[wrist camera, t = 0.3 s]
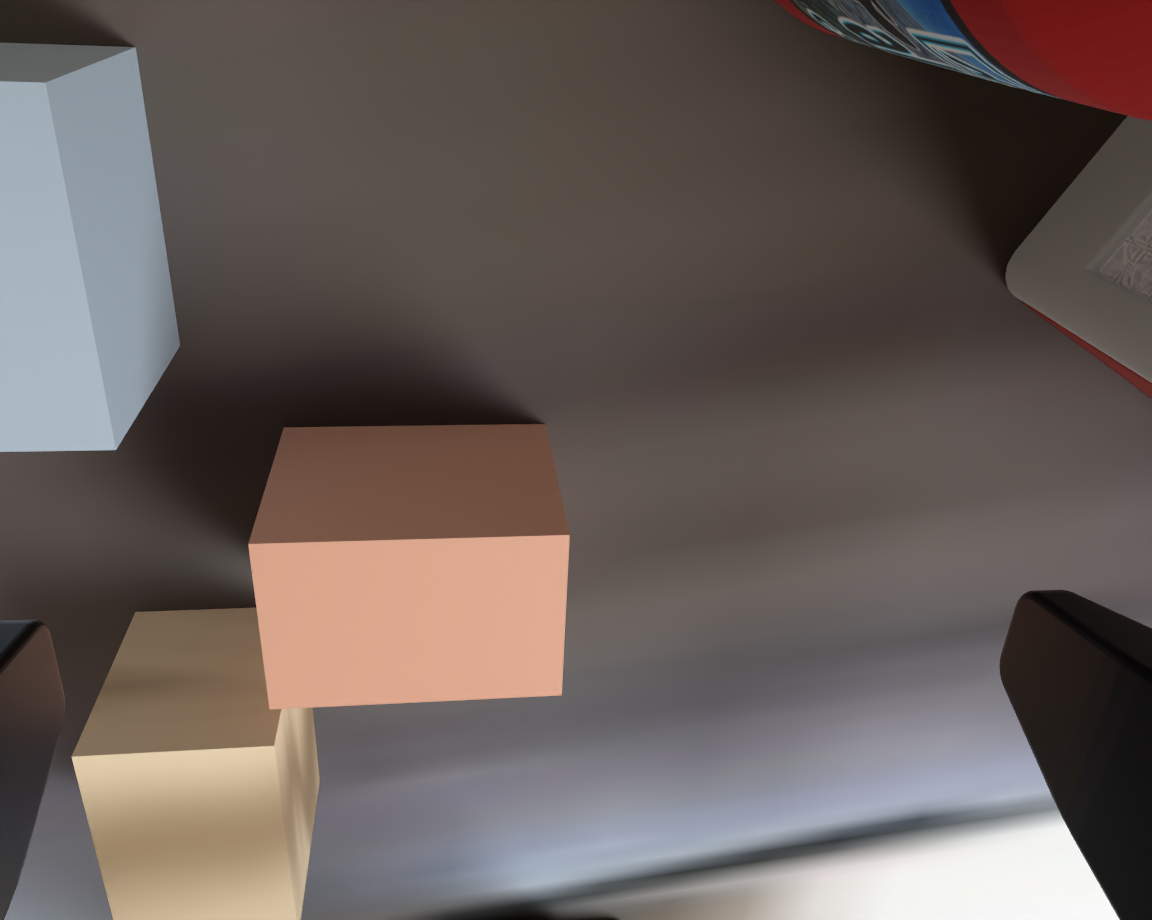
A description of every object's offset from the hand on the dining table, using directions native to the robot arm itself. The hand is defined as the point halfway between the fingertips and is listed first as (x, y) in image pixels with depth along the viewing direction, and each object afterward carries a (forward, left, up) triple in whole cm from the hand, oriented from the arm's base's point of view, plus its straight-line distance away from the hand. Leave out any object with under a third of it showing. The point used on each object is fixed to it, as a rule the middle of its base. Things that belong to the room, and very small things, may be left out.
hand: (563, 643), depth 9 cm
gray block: (+1, +9, -14) cm, 16 cm away
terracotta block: (-6, +2, -14) cm, 15 cm away
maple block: (-12, +7, -14) cm, 20 cm away
